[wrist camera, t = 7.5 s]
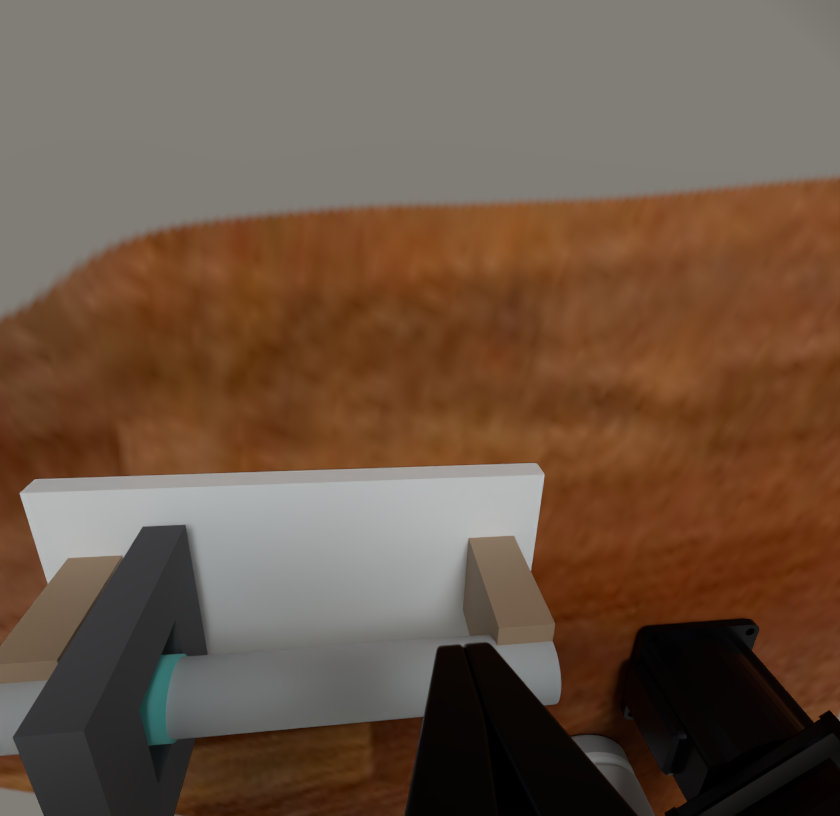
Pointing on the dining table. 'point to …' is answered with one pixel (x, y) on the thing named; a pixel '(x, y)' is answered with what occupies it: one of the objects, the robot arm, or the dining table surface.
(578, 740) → the travel mug
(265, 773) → the dining table surface
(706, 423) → the dining table surface
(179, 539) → the dark grey flat block
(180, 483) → the pipe stand
